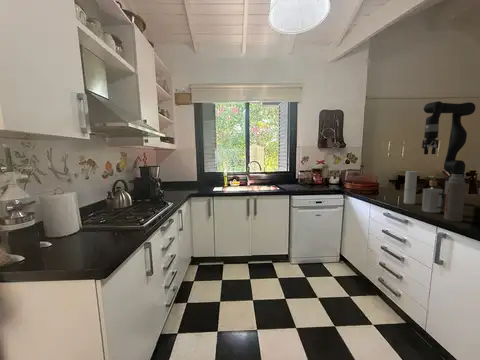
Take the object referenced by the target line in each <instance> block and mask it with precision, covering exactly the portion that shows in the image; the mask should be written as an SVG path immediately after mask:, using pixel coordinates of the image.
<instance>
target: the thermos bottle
mask: <svg viewBox="0 0 480 360" xmlns="http://www.w3.org/2000/svg"><path fill="white" fill-rule="evenodd" d="M450 176H451V177H450V178H449V181H447V189H446V201H445V209H444V213H443V214H444V215H443V219H444V220H446V221H451V222H463V219H464V218H463V217H464V206H465V205H464V204H465V197H466V196H465V195H466V189H467V182H466V179H465V177H463V173H461V172H451V175H450Z"/></svg>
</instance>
